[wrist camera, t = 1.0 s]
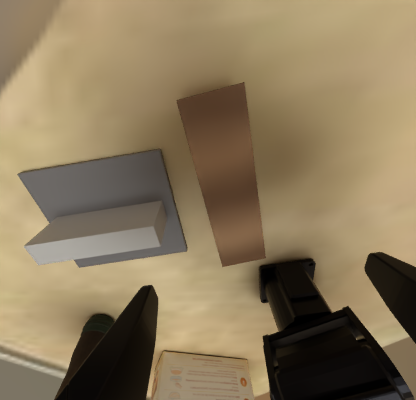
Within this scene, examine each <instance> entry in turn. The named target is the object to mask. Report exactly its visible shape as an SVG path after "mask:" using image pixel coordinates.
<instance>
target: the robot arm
mask: <svg viewBox="0 0 416 400" xmlns="http://www.w3.org/2000/svg"><path fill="white" fill-rule="evenodd" d="M314 271H315V262H314V260H313V259H306V260H299V261H292V262H286V263H279V264H272V265H265V266H261V267H260V268H259V280H260V299H261V302H262V303H268V302H269V305H270V308H271V311H272V313H273V316H274V319H275V322H276V325H277V328H278V331H279V332H276V333H274V334H271V335H268V334H267V335H265V336H263V342H264V345H263V348H264V354H265V360H266V367H267V373H268V379H269V388H270V398H271V400H414V397H413V395H412V393H411V391H410V389H409V387H408V386H407V384H406V382H405V381H404V379H403V378H402V376H401V375H400V373H399V372H398V370H397V369H396V367H395V365H394V364H393V363H392V361H391V360H390V358H389V357H388V356H387V354H386V353H385V352H384V350H383V349H382V348H381V346H380V345H379V344H378V343H377V341H376V340H375V339H374V338H373V336H372V335H371V334H370V333H369V331H368V330H367V329H366V328H365V326H364V325H363V324H362V323H361V321H360V320H359V319H358V318H357V316H356V315H355V314H354V313H353V311H352V310H351V309H350V308H349V306H347V307H344V308H342V310H339V311H336V312H332V311H331V309H330V308H329V306H328V304H327V303H326V301H325V300H324V298H323V296H322V295H321V293H320V292H319V290H318V288H317V287H316V285H315V284H314V282H313V277H314ZM365 272H366V274H367V276H368V277H369V279H370V280H371V282H372V283H373V285H374V287H375V288H376V290H377V291H378V293H379V294H380V296H381V297H382V299H383V300H384V302H385V304H386V305H387V307H388V308H389V309H390V311H391V312H392V314H393V315H394V316H395V318H396V319H397V320H398V322H399V323H400V324H401V325H402V327H403V328H404V329H405V331H406V332H407V333H408V334H409V336H410V337H411V338H412V340H413V341H414V342H415V343H416V267H414V266H412V265H410V264H408V263H405V262H403V261H401V260H399V259H396V258H394V257H392V256H389V255H387V254H385V253H382V252H376V253H370V254H369V255H368V258H367V261H366V264H365ZM157 314H158V297H157V294H156V292H155V289H154V287H153V286H152V285H147V286H143V287H141V288H140V290H139V291H138V292H137V294H136V295H135V296H134V298H133V299H132V300H131V301H130V303H129V304H128V305H127V307H126V308H125V309H124V311H123V312H122V313H121V314H120V316H119V317H118V318H117V320H116V321H115V322H114V324H113V325H112V326H111V327H110V329H109V330H108V331H107V333H106V334H105V335H104V337H103V338H102V339H101V340H100V342H99V343H98V344H97V346H96V347H95V348H94V350H93V351H92V352H91V353H90V355H89V356H88V357H87V359H86V360H85V361H84V363H83V364H82V365H81V366H80V368H79V369H78V370H77V372H76V373H75V374H74V376H73V377H72V378H71V379H70V381H69V384H67V385H66V386H65V387H64V388H63V390H62V391H61V392H60V394H59V395H58V396H57V398H56V399H55V400H146V396H147V390H148V384H149V378H150V372H151V366H152V360H153V354H154V348H155V341H156V328H157ZM356 339H357V340H356Z"/></svg>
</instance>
